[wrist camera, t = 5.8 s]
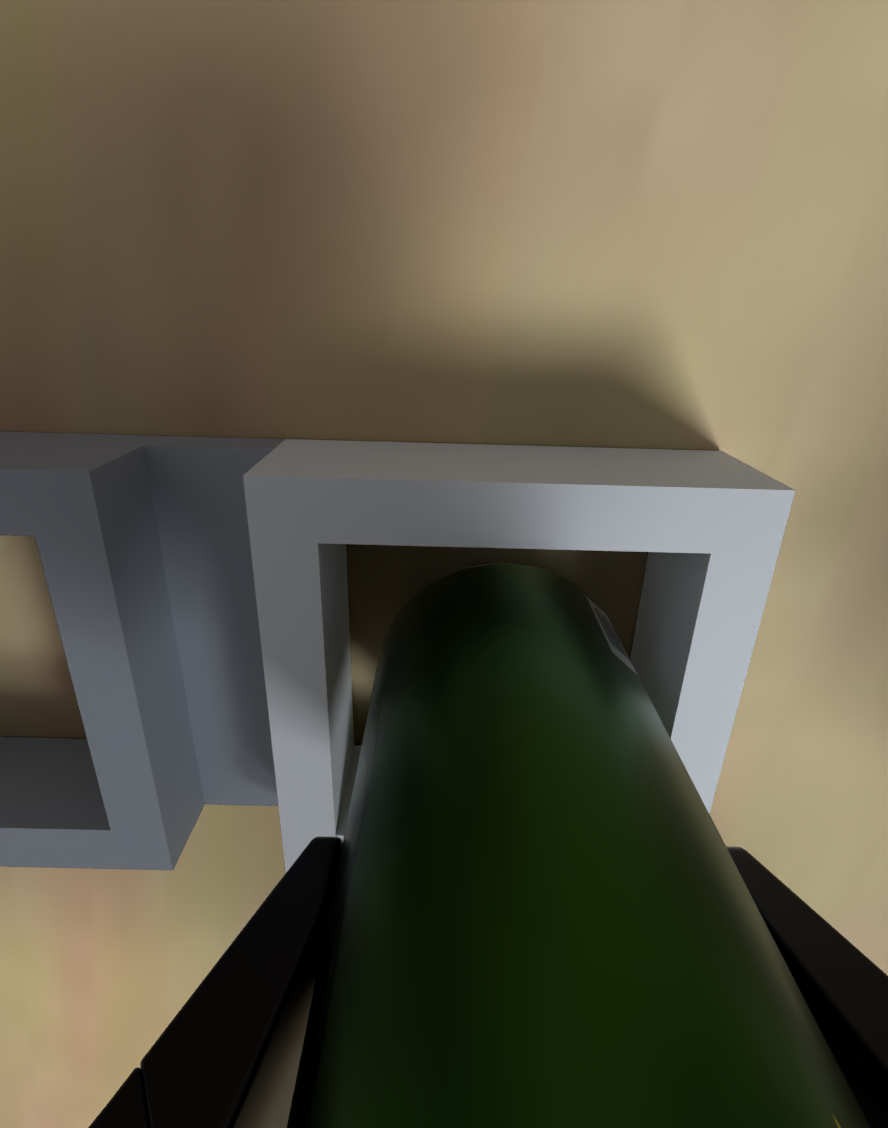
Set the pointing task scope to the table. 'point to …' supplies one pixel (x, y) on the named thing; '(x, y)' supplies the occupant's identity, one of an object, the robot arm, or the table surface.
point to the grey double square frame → (326, 611)
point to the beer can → (542, 898)
